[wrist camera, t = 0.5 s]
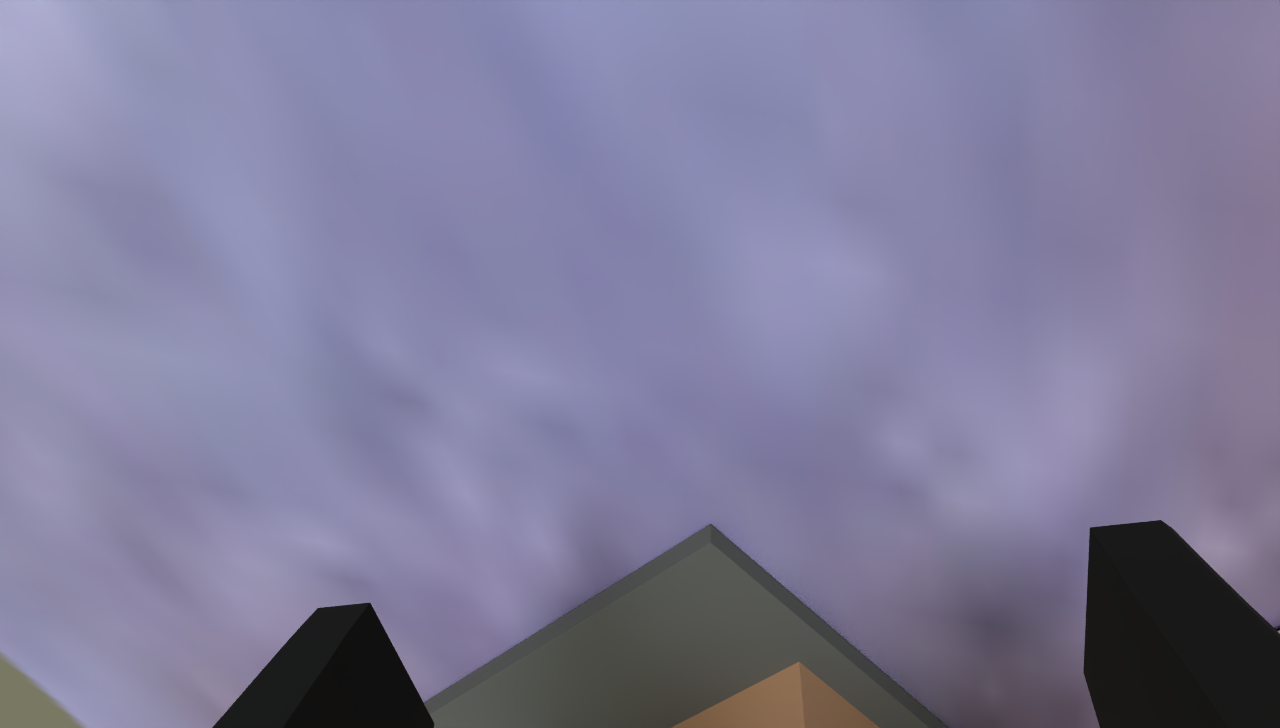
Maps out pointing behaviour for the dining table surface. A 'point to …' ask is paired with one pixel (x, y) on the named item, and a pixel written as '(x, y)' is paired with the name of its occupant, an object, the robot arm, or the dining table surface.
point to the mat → (670, 652)
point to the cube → (783, 705)
